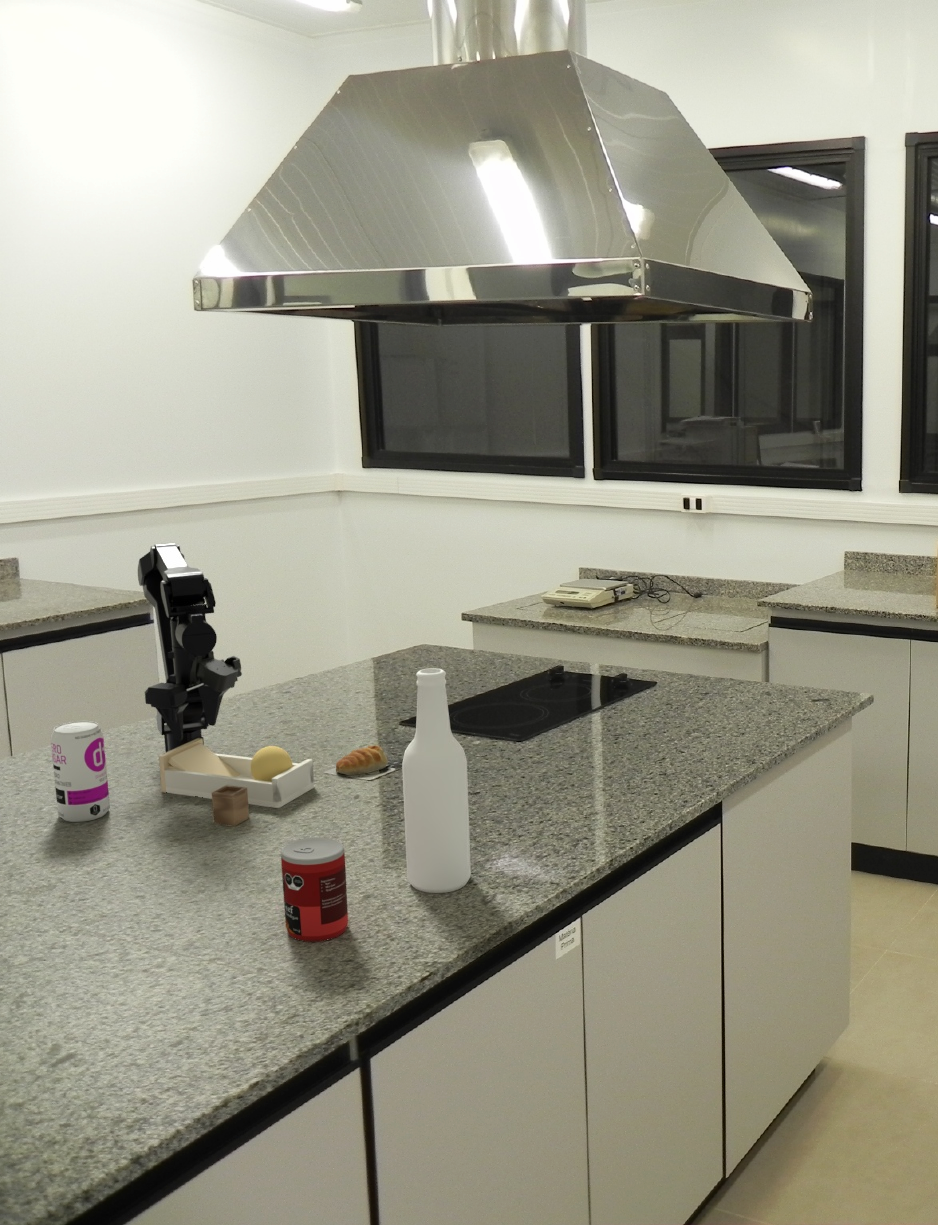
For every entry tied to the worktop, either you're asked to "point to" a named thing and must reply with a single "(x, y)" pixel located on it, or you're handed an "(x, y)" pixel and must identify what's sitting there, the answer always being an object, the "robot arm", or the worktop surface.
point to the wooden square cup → (230, 805)
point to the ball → (270, 763)
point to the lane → (229, 775)
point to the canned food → (314, 889)
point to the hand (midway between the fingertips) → (196, 732)
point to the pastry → (362, 761)
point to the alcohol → (435, 794)
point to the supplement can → (80, 771)
